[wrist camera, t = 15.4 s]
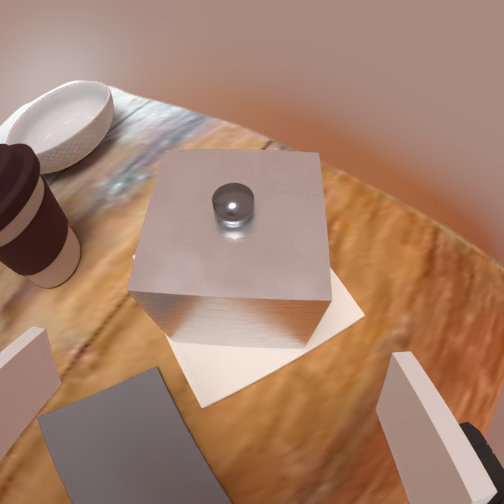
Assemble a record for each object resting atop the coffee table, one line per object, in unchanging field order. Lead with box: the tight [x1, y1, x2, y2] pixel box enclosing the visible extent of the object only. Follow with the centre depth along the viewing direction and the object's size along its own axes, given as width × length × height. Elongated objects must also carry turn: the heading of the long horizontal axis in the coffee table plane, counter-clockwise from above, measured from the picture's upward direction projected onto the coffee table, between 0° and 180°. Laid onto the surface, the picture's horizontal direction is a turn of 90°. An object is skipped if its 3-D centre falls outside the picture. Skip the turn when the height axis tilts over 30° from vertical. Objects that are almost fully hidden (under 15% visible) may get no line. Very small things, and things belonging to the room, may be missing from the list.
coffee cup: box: [0, 143, 80, 288], centre depth 25 cm, size 10×10×15 cm
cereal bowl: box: [6, 81, 114, 174], centre depth 38 cm, size 17×17×7 cm
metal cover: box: [127, 149, 332, 349], centre depth 24 cm, size 11×11×12 cm
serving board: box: [133, 254, 365, 409], centre depth 29 cm, size 16×16×1 cm
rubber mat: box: [37, 367, 233, 504], centre depth 21 cm, size 14×14×1 cm
